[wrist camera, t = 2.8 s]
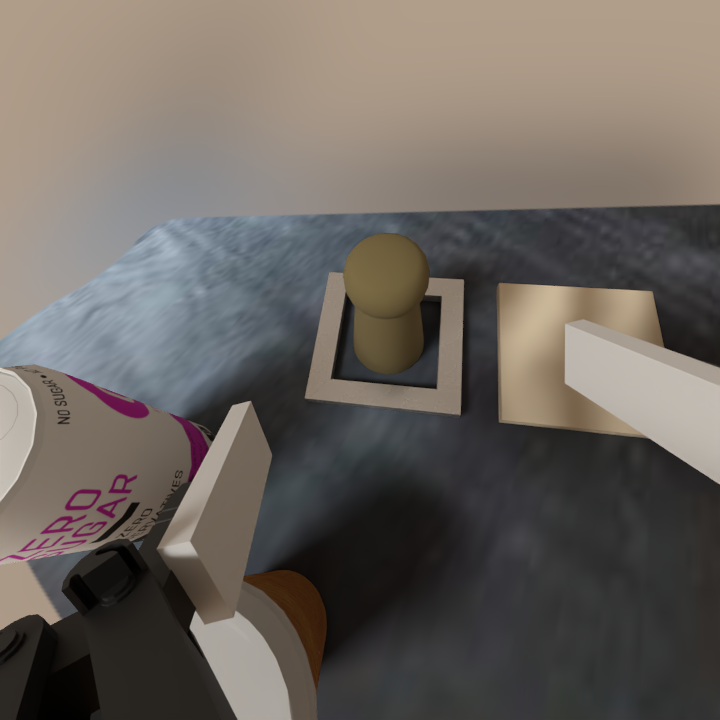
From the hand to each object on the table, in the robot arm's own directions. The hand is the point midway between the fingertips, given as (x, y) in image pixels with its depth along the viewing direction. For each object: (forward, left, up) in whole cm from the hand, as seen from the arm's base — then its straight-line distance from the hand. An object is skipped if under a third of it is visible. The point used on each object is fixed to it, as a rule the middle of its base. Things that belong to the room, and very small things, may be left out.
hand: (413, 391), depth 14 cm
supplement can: (+17, +5, -13) cm, 22 cm away
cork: (+2, -8, -13) cm, 16 cm away
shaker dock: (+2, -8, -13) cm, 15 cm away
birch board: (-13, -8, -13) cm, 20 cm away
